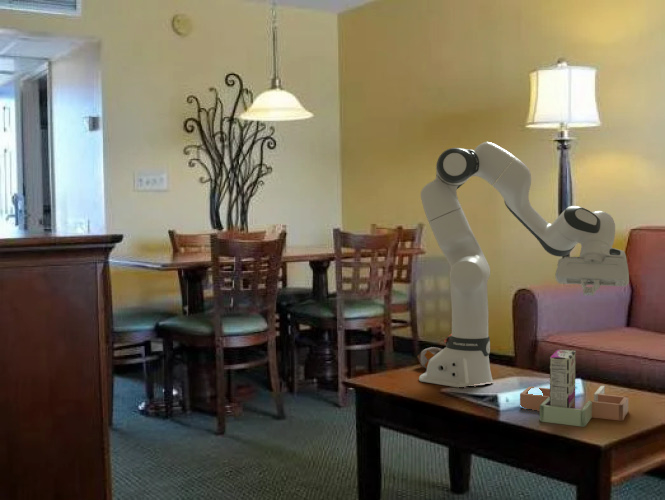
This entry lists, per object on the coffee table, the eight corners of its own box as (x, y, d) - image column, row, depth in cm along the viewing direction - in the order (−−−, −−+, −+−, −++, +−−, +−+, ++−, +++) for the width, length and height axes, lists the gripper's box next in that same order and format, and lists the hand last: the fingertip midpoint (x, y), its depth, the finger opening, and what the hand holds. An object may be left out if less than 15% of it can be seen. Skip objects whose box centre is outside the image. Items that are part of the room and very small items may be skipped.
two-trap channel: (509, 417, 203) (510, 402, 202) (537, 393, 229) (537, 379, 229) (616, 430, 191) (617, 414, 190) (633, 403, 217) (633, 389, 217)
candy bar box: (556, 410, 210) (556, 349, 209) (575, 412, 208) (576, 350, 207) (548, 420, 200) (549, 356, 199) (568, 423, 198) (569, 357, 197)
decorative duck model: (417, 345, 273) (461, 344, 270) (418, 367, 272) (462, 367, 269) (413, 348, 258) (460, 348, 255) (414, 372, 258) (460, 372, 255)
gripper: (557, 249, 236) (549, 285, 228) (630, 251, 227) (624, 288, 218) (560, 263, 240) (552, 299, 232) (632, 266, 231) (626, 303, 223)
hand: (588, 294), depth 225 cm, fingers closed
